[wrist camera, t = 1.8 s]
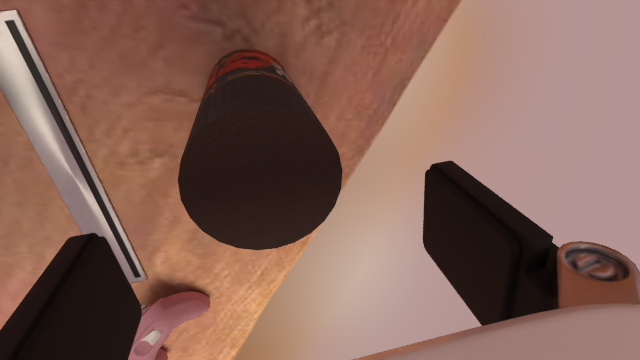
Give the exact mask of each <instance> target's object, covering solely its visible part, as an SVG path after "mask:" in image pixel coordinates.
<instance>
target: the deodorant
mask: <svg viewBox="0 0 640 360" xmlns="http://www.w3.org/2000/svg"><path fill="white" fill-rule="evenodd" d="M341 181H342V167H341V162H340V157H339V153H338V151H337V149H336V147H335V145H334V144H333V142H332V140H331V138H330V136H329V135H328V133H327V132H326V130H325V129H324V127H323V126H322V124H321V123H320V122H319V120H318V119H317V117H316V116H315V114H314V113H313V111H312V110H311V108H310V107H309V105H308V104H307V102H306V101H305V99H304V98H303V96H302V95H301V94H300V92H299V91H298V89H297V88H296V86H295V85H294V83H293V82H292V80H291V79H290V77H289V76H288V74H287V73H286V71H285V70H284V69H283V67H282V66H281V65H280V64H279V63H278V61H277V60H276V59H275V58H273V57H272V56H270V55H268V54H267V53H265V52H263V51H259V50H256V49H240V50H236V51H232V52H230V53H229V54H227V55H225V56H224V57H222V58H221V59H220V60H219V62H218V63H217V64H216V65H215V66H214V69H213V71H212V73H211V75H210V77H209V80H208V83H207V86H206V89H205V92H204V95H203V98H202V101H201V104H200V106H199V109H198V112H197V115H196V118H195V121H194V124H193V127H192V130H191V132H190V135H189V138H188V141H187V144H186V147H185V150H184V153H183V156H182V158H181V163H180V169H179V176H178V185H179V191H180V197H181V201H182V203H183V205H184V207H185V209H186V211H187V213H188V215H189V216H190V218H191V219H192V220H193V221H194V222H195V223H196V224H197V225H198V227H199V228H200V229H201V230H202V231H203V232H205V233H206V234H208V235H210V236H211V237H213V238H214V239H216V240H217V241H219V242H222V243H225V244H228V245H231V246H234V247H236V248H243V249H252V250H263V249H272V248H278V247H281V246H284V245H288V244H291V243H294V242H296V241H298V240H299V239H301V238H303V237H305V236H306V235H308V234H310V233H311V232H312V231H314V230H315V229H316V228H317V227H318V226H319V225H320V224H321V223H322V222H324V221H325V219H326V218H327V216H328V215H329V213H330V212H331V210H332V209H333V208H334V206H335V204H336V201H337V198H338V195H339V193H340V190H341Z"/></svg>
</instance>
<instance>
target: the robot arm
mask: <svg viewBox="0 0 640 360" xmlns="http://www.w3.org/2000/svg"><path fill="white" fill-rule="evenodd" d="M423 223H424V224H423V243H424V247H425V249H426V251H427V253H428V254H429V255H430V257H431V258H432V259H433V261H434V262H435V263H436V265H437V266H438V267H439V269H440V270H441V271H442V273H443V274H444V275H445V276H446V278H447V279H448V281H449V282H450V283H451V285H452V286H453V287H454V289H455V290H456V291H457V293H458V294H459V295H460V297H461V298H462V299H463V301H464V302H465V303H466V305H467V306H468V308H469V309H470V310H471V312H472V313H473V314H474V316H475V317H476V318H477V320H478V321H479V322H480V324H481V325H482V326H480V327H476V328H472V329H468V330H464V331H460V332H456V333H453V334H449V335H445V336H441V337H437V338H434V339H430V340H426V341H422V342H418V343H414V344H411V345H407V346H403V347H399V348H395V349H392V350H388V351H384V352H380V353H376V354H372V355H369V356H365V357H361V358H357V359H353V360H640V272H639V270H638V269H637V267H636V265H635V264H634V263H633V262H632V261H631V260H630V259H629V258H628V257H626V256H625V255H623V254H621V253H620V252H618V251H616V250H613V249H611V248H609V247H606V246H603V245H600V244H596V243H590V242H581V241H580V242H570V243H567V244H564V245H562V246H561V247H560V248H559V247H557V246H556V245H555V244H553V243H552V240H553V236H551V235H550V234H549V233H547V232H546V231H545V230H543V229H542V228H541V227H539V226H538V225H537V224H535V223H534V222H533V221H531V220H530V219H529V218H527V217H526V216H525V215H523V214H522V213H521V212H519V211H518V210H517V209H515V208H514V207H513V206H511V205H510V204H509V203H507V202H506V201H505V200H503V199H502V198H501V197H499V196H498V195H497V194H495V193H494V192H493V191H491V190H490V189H489V188H487V187H486V186H485V185H483V184H482V183H481V182H479V181H478V180H477V179H475V178H474V177H473V176H471V175H470V174H469V173H467V172H466V171H465V170H463V169H462V168H461V167H459V166H458V165H457V164H455V163H454V162H453V161H446V162H440V163H436V164H432V165H431V167H430V169H429V170H427V171H426V173H425V191H424V221H423ZM141 317H142V308H141V305H140V303H139V301H138V299H137V297H136V295H135V293H134V291H133V289H132V287H131V285H130V283H129V281H128V279H127V277H126V275H125V274H124V272H123V270H122V268H121V266H120V264H119V262H118V260H117V258H116V256H115V254H114V252H113V250H112V248H111V246H110V244H109V243H108V241H107V239H106V238H105V237H103V236H100V237H99V235H97V234H96V233H89V234H84V235H79V236H74V237H70V238H69V239H68V240H67V241H66V242H65V243H64V245H63V246H62V248H61V249H60V250H59V252H58V253H57V254H56V256H55V257H54V258H53V260H52V261H51V262H50V264H49V265H48V266H47V268H46V269H45V271H44V272H43V273H42V275H41V276H40V277H39V279H38V280H37V281H36V283H35V284H34V285H33V287H32V288H31V290H30V291H29V292H28V294H27V295H26V296H25V298H24V299H23V300H22V302H21V303H20V304H19V306H18V307H17V309H16V310H15V311H14V313H13V314H12V315H11V317H10V318H9V319H8V321H7V322H6V323H5V325H4V326H3V327H2V329H1V330H0V360H128V358H129V355H130V352H131V349H132V346H133V343H134V340H135V336H136V333H137V330H138V327H139V324H140V321H141Z"/></svg>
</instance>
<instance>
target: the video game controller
mask: <svg viewBox="0 0 640 360" xmlns="http://www.w3.org/2000/svg"><path fill="white" fill-rule="evenodd" d="M147 306H148V304H144V305H142V306H141V308H142V317H141V321H140V324H139V327H138V330H137V333H136V336H135V340H134V343H133V346H132V349H131V352H130V355H129V358H128V360H167V359H168V356H167V353H166V352H165V350H163V349H161V348H160V347H161V346H162V344H163V343H164V342H165V340H166V339H167V337H168V336H169V334H170V333H171V331H172V330H173V329H174V328H175V327H176V326H178V325H179V324H181V323H183V322H185V321H188V320H190V319H193V318H196V317H199V316H201V315H203V314H204V313H205V312H207V311H208V309H209V307H210V300H209V299H208V297H207V296H206V295H204V294H202V293H199V292H181V293H177V294H174V295H171V296H168V297H166V298H163V297H162V298H160V299H159V300H158V301H156V302H155V303H154V304H153V305H152V306H149V307H147ZM146 307H147V308H146Z"/></svg>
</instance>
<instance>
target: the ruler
mask: <svg viewBox="0 0 640 360" xmlns="http://www.w3.org/2000/svg"><path fill="white" fill-rule="evenodd" d="M0 89H1V91H2V92H3V94H4V96H5V98H6V100H7V101H8V103H9V105H10V107H11V108H12V110H13V112H14V114H15V116H16V117H17V119H18V121H19V123H20V124H21V126H22V128H23V130H24V132H25V133H26V135H27V137H28V139H29V140H30V142H31V144H32V146H33V148H34V149H35V151H36V153H37V155H38V156H39V158H40V160H41V162H42V164H43V165H44V167H45V169H46V171H47V172H48V174H49V176H50V178H51V180H52V181H53V183H54V185H55V187H56V188H57V190H58V192H59V194H60V196H61V197H62V199H63V201H64V203H65V204H66V206H67V208H68V210H69V211H70V213H71V215H72V217H73V219H74V220H75V222H76V224H77V226H78V227H79V229H80V231H81V233H82V235H84V234H89V233H96V234H97V235H99V237H100V236H103V237H105V238H106V239H107V241H108V243H109V244H110V246H111V248H112V250H113V252H114V254H115V256H116V258H117V260H118V262H119V264H120V266H121V268H122V270H123V272H124V274H125V275H126V277H127V279H128V281H129V283H130V284H131V283H135V282H139V281H144V280H147V279H148V278H147V276H146V274H145V272H144V270H143V268H142V266H141V264H140V262H139V259H138V257H137V255H136V253H135V251H134V249H133V247H132V245H131V243H130V241H129V239H128V237H127V235H126V233H125V231H124V229H123V227H122V224H121V222H120V220H119V218H118V216H117V214H116V212H115V210H114V208H113V206H112V204H111V202H110V200H109V198H108V196H107V194H106V192H105V189H104V187H103V185H102V183H101V181H100V179H99V177H98V175H97V173H96V171H95V169H94V167H93V165H92V163H91V161H90V159H89V157H88V154H87V152H86V150H85V148H84V146H83V144H82V142H81V140H80V138H79V136H78V134H77V132H76V130H75V128H74V126H73V124H72V122H71V119H70V117H69V115H68V113H67V111H66V109H65V107H64V105H63V103H62V101H61V99H60V97H59V95H58V93H57V91H56V89H55V87H54V84H53V82H52V80H51V78H50V76H49V74H48V72H47V70H46V68H45V66H44V64H43V62H42V60H41V58H40V56H39V54H38V52H37V49H36V47H35V45H34V43H33V41H32V39H31V37H30V35H29V33H28V31H27V29H26V27H25V25H24V23H23V21H22V19H21V17H20V14H19V12H18V10H9V11H1V12H0Z"/></svg>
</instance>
